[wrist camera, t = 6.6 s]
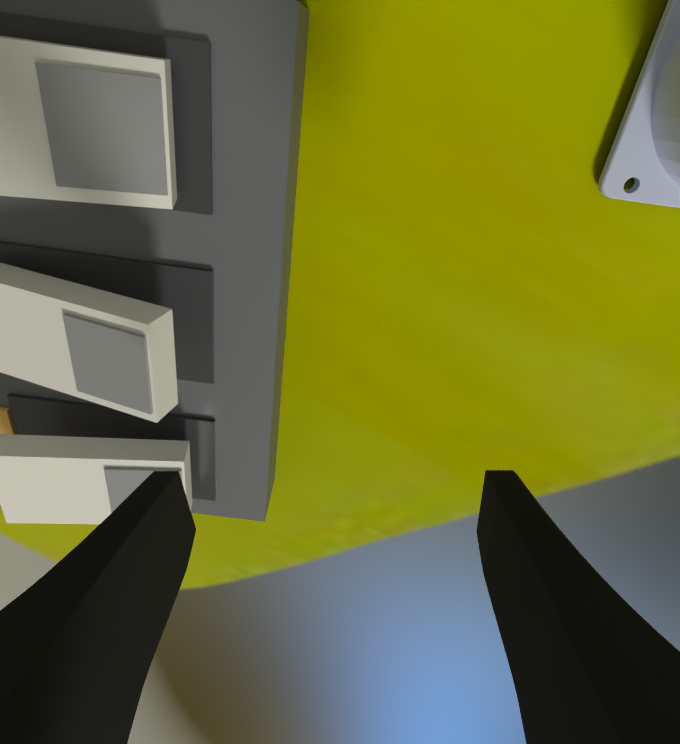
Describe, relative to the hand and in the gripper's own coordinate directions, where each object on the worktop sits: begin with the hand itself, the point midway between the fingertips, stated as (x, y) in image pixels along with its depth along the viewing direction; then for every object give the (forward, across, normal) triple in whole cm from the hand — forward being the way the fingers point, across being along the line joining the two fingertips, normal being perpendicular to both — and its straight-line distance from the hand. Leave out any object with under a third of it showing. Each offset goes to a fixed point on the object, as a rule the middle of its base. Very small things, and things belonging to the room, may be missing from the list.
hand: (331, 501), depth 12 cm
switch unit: (+10, +9, -2) cm, 14 cm away
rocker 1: (+6, +8, -8) cm, 12 cm away
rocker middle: (+6, +9, -2) cm, 11 cm away
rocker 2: (+6, +10, +5) cm, 12 cm away
